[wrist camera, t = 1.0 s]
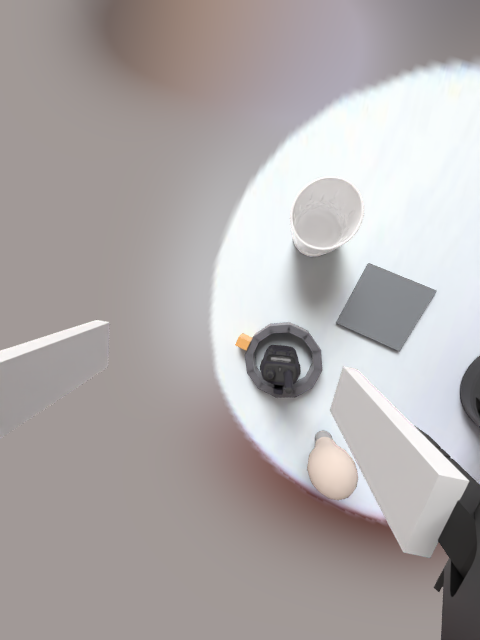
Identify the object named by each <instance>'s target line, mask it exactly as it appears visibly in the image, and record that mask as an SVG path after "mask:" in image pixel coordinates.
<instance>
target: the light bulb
mask: <svg viewBox="0 0 480 640" xmlns="http://www.w3.org/2000/svg"><path fill="white" fill-rule="evenodd" d="M315 440H316V442H315V448H314V449H313V450H312V452H311V453H310V455H309V459H308V466H307V470H308V473H309V477H310V479H311V482H312V484H313V485H314V487H315V488H316V489H317V490H318V491H319V492H320V493H321V494H323V495H324V496H326V497H328V498H329V499H334V500H341V499H345V498H348V497H349V496H350V495H351V494H352V493H353V491H354V490H355V488H356V487H357V482H358V473H357V469H356V465H355V462H354V461H353V459H352V458H351V457H350V455H349V454H348V453H347V452H346V451H345V450H344V449H342V448H341V447H339V446H337V445H336V443H335V442H334V441H333V439H332V436H331V435H330V433H328V432H327V431H319V432H317V434H316V435H315Z"/></svg>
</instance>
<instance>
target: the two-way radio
mask: <svg viewBox="0 0 480 640" xmlns="http://www.w3.org/2000/svg"><path fill="white" fill-rule="evenodd" d="M260 370H261V374H262V377H263V379H264V380H265V381H267V382H269V383H271V384H273V385H274V389H273V392H274V394H278V395H282V394H283V387H284V386H285V392H286V393H287V394H291V393H292V390H293V384H295V383H296V381H297V379H298V377H299V375H300V364H299V362H298V357H297V354H296V351H295V349H294V348H293V347H289V346H280V345H271V346H269V347H268V348H267V350H266V352H265V355H264V358H263V360H262V361H261V365H260Z"/></svg>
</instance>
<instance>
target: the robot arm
mask: <svg viewBox="0 0 480 640" xmlns="http://www.w3.org/2000/svg"><path fill="white" fill-rule="evenodd" d="M109 326H110V323H109V322H105V321H99V320H95V321H92V322H89V323H85V324H83V325H79V326H76V327H73V328H70V329H67V330H64V331H60V332H57V333H54V334H51V335H48V336H45V337H42V338H39V339H36V340H32V341H29V342H26V343H23V344H20V345H17V346H14V347H11V348H8V349H5V350H1V351H0V438H2V437H3V436H5V435H6V434H8V433H9V432H11V431H12V430H14V429H16V428H17V427H18V426H20V425H21V424H23V423H24V422H26V421H28V420H29V419H30V418H32V417H34V416H35V415H36V414H38V413H40V412H41V411H43V410H44V409H46V408H47V407H49V406H50V405H52V404H53V403H55V402H56V401H58V400H59V399H61V398H62V397H64V396H65V395H67V394H68V393H70V392H71V391H73V390H74V389H76V388H77V387H79V386H80V385H82V384H83V383H85V382H86V381H88V380H89V379H91V378H92V377H94V376H95V375H97V374H98V373H100V372H101V371H103V370H104V369H106V368H107V367H108V352H109ZM461 400H462V404H463V407H464V409H465V411H466V413H467V414H468V416H469V417H470V418H471V420H472V421H473V422H474V423H475V424H476V425H478V426H479V427H480V356H479V357H478V358H477V359H476V360H475V361H474V362H473V363H472V364H471V365H470V366H469V368H468V369H467V371H466V373H465V375H464V377H463V380H462V384H461ZM330 412H331V414H332V416H333V418H334V419H335V421H336V423H337V425H338V427H339V429H340V431H341V433H342V435H343V437H344V439H345V441H346V443H347V445H348V447H349V448H350V450H351V452H352V454H353V456H354V458H355V460H356V462H357V464H358V466H359V468H360V470H361V472H362V474H363V476H364V478H365V479H366V481H367V483H368V485H369V487H370V489H371V491H372V493H373V495H374V497H375V499H376V501H377V503H378V505H379V507H380V508H381V510H382V512H383V514H384V516H385V518H386V520H387V522H388V524H389V526H390V528H391V530H392V532H393V533H394V536H395V537H396V539H397V541H398V543H399V545H400V547H401V549H402V551H403V552H404V553H408V554H413V555H418V556H422V557H427V558H431V556H432V554H433V552H434V550H435V548H436V546H437V544H438V542H439V543H440V544H441V546H442V547H443V549H444V550H445V552H446V553H447V555H448V556H449V560H448V561H447V563H446V565H445V567H444V569H443V571H442V573H441V575H440V576H439V578H438V580H437V582H436V584H435V586H434V588H435V589H436V590H437V591H438V592H439V591H440V589H441V587H443V609H442V631H441V640H480V485H479V484H478V483H477V482H476V481H475V480H474V479H473V478H472V477H471V476H470V475H469V474H468V473H467V472H466V471H465V470H464V469H463V468H462V467H461V466H460V465H459V464H458V463H456V462H455V461H454V460H453V459H451V458H450V456H449V455H448V454H447V453H446V452H445V451H444V450H443V449H441V448H440V446H439V445H438V444H437V443H436V442H435V441H434V440H433V439H432V438H431V437H430V436H428V435H427V434H426V433H424V432H423V431H421V430H420V429H418V428H417V427H416V426H414V425H413V424H412V423H411V422H410V421H409V420H408V419H407V418H406V417H405V416H404V415H403V414H402V413H401V412H400V411H399V410H398V409H397V408H396V407H395V406H394V405H393V404H392V403H391V402H390V401H389V400H388V399H387V398H386V397H385V396H384V395H383V394H382V393H381V392H380V391H379V390H378V389H377V388H376V387H375V386H374V385H373V384H372V383H371V382H370V381H369V380H368V379H367V378H366V377H365V376H364V375H363V374H362V373H361V372H360V371H359V370H358V369H354V368H349V367H343V369H342V372H341V375H340V379H339V382H338V385H337V388H336V392H335V395H334V398H333V402H332V405H331V408H330Z"/></svg>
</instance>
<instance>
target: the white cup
mask: <svg viewBox="0 0 480 640" xmlns="http://www.w3.org/2000/svg"><path fill="white" fill-rule="evenodd" d="M363 216H364V203H363V199H362V196H361V194H360V192H359V190H358V189H357V188H356V187H355V186H354V185H353V184H352V183H351V182H349V181H348V180H346V179H343V178H340V177H335V176H328V177H322V178H319V179H316V180H314V181H312V182H310V183H309V184H307V185H306V186H305V187H304V188H303V189H302V190H301V191H300V192H299V193H298V195H297V196H296V198H295V200H294V202H293V204H292V208H291V213H290V222H291V233H292V238H293V241H294V245H295V246H296V248H297V249H298V250H299V251H300V253H302V254H305V255H307V256H309V257H314V256H321V255H324V254H327V253H329V252H331V251H333V250H335V249H336V248H338V247H340V246H342V245H343V244H345V243H346V242H348V241H349V240H350V239H351V238H352V237H353V236H354V235H355V234H356V232H357V231H358V229H359V227H360V225H361V223H362V220H363Z"/></svg>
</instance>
